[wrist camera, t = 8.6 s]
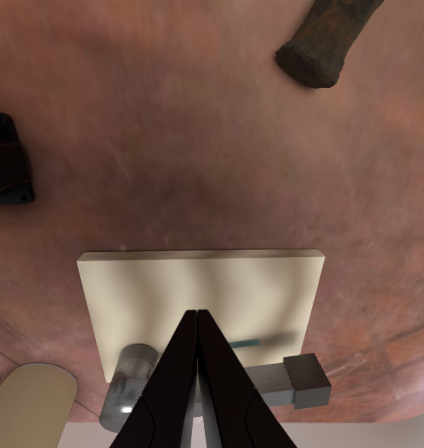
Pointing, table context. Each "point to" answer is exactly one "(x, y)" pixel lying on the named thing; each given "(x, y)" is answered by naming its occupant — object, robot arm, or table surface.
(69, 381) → the lidded canister
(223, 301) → the board
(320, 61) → the wooden log
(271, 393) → the lever
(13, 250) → the table surface
